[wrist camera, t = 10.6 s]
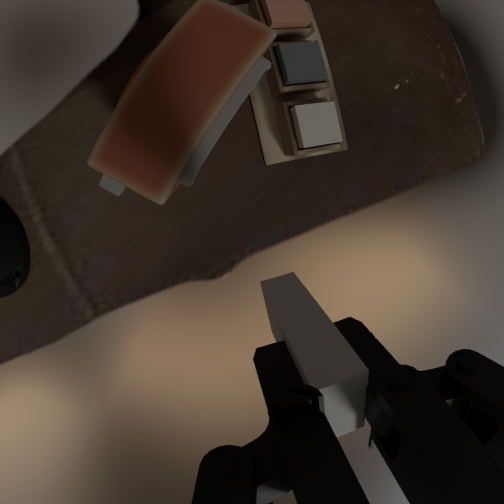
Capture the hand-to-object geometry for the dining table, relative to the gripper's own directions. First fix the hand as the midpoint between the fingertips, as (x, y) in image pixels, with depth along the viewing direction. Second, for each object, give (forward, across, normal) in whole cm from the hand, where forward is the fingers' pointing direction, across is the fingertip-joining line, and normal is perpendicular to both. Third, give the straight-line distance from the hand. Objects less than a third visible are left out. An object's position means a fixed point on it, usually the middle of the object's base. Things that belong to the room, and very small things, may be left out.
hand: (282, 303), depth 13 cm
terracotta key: (+24, +12, +24) cm, 36 cm away
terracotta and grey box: (+27, -2, +11) cm, 29 cm away
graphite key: (+24, +12, +16) cm, 32 cm away
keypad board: (+26, +12, +16) cm, 33 cm away
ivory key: (+24, +12, +8) cm, 28 cm away
